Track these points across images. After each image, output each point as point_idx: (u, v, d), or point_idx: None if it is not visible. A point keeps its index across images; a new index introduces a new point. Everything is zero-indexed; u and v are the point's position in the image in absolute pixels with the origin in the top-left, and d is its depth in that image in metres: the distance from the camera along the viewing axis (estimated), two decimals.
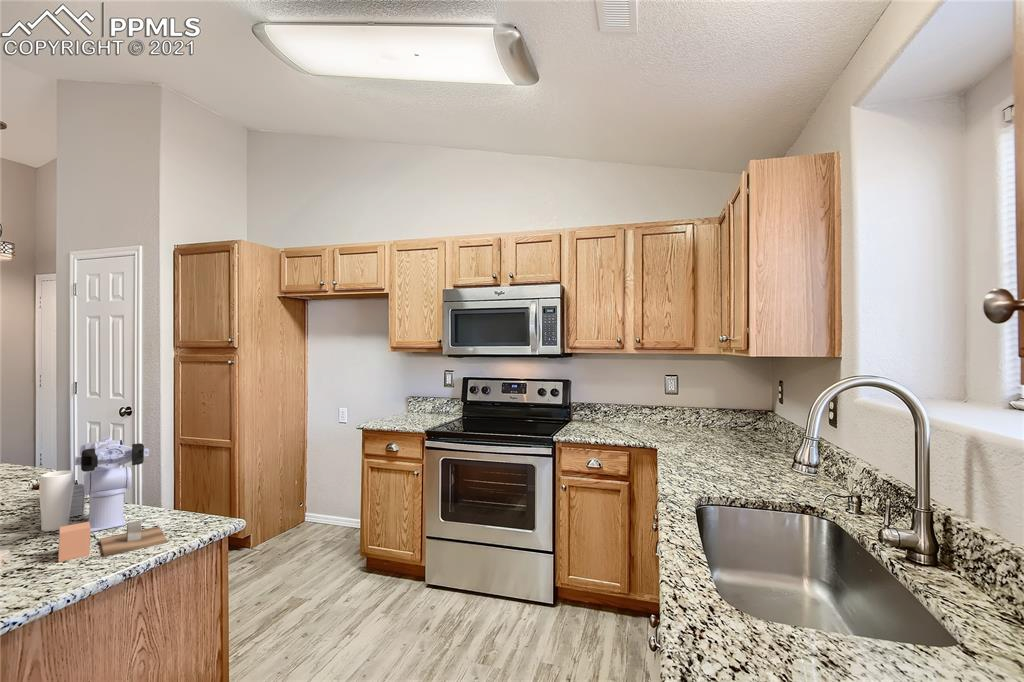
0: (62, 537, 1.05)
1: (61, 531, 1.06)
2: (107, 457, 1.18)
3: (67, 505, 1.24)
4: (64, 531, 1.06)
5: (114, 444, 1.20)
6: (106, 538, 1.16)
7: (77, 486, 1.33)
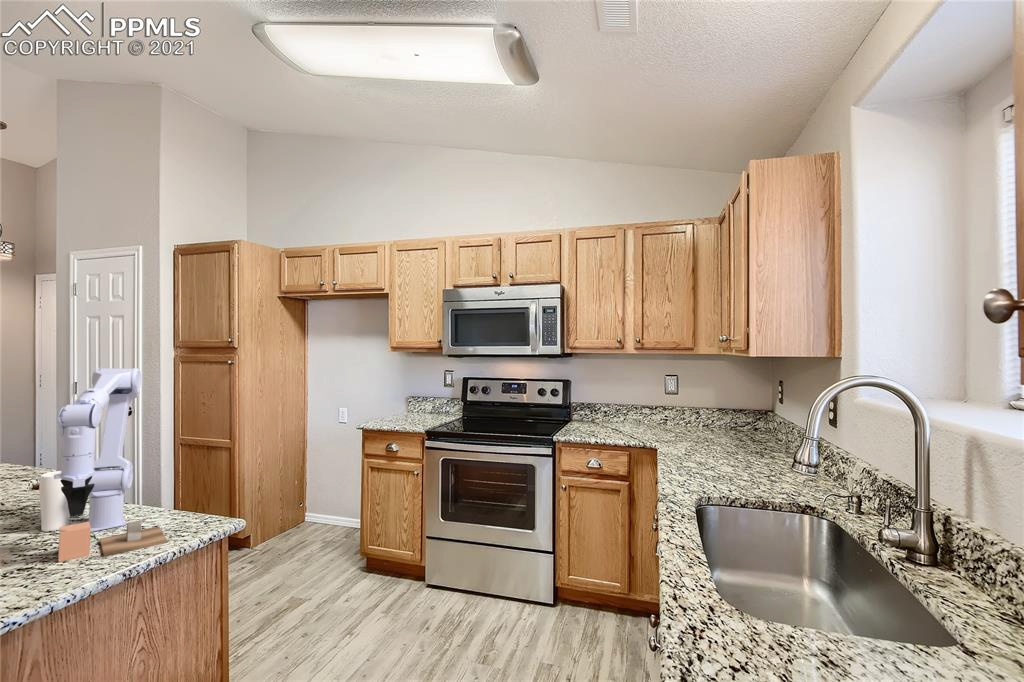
0: (62, 537, 1.05)
1: (61, 531, 1.06)
2: None
3: (67, 505, 1.24)
4: (64, 531, 1.06)
5: (59, 477, 1.06)
6: (106, 538, 1.16)
7: None
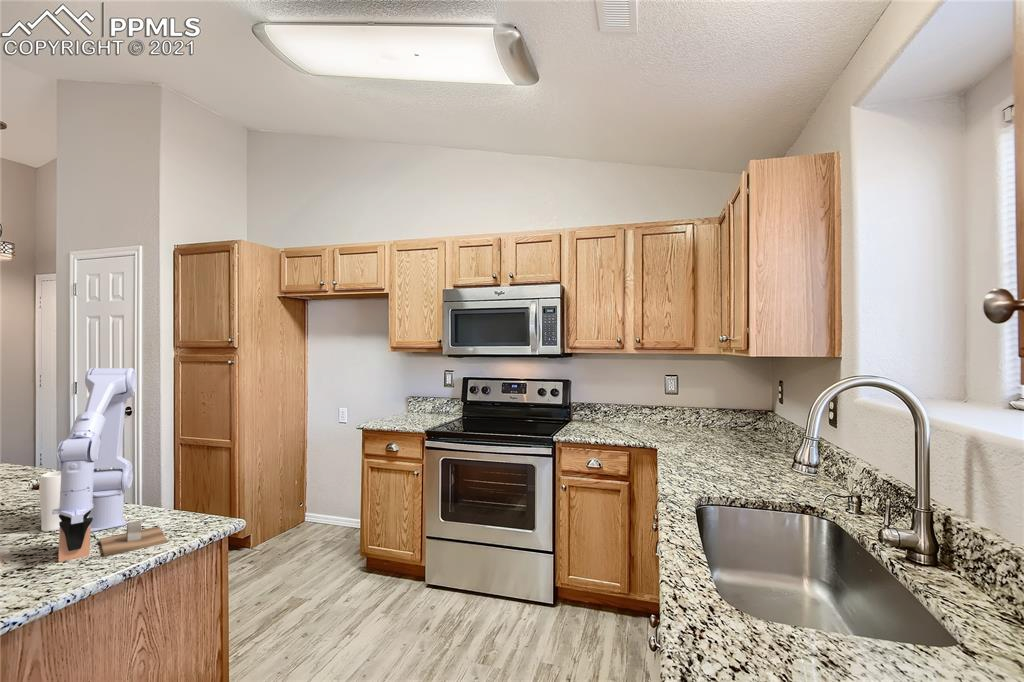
0: (62, 537, 1.05)
1: (61, 531, 1.06)
2: None
3: None
4: None
5: None
6: (106, 538, 1.16)
7: None
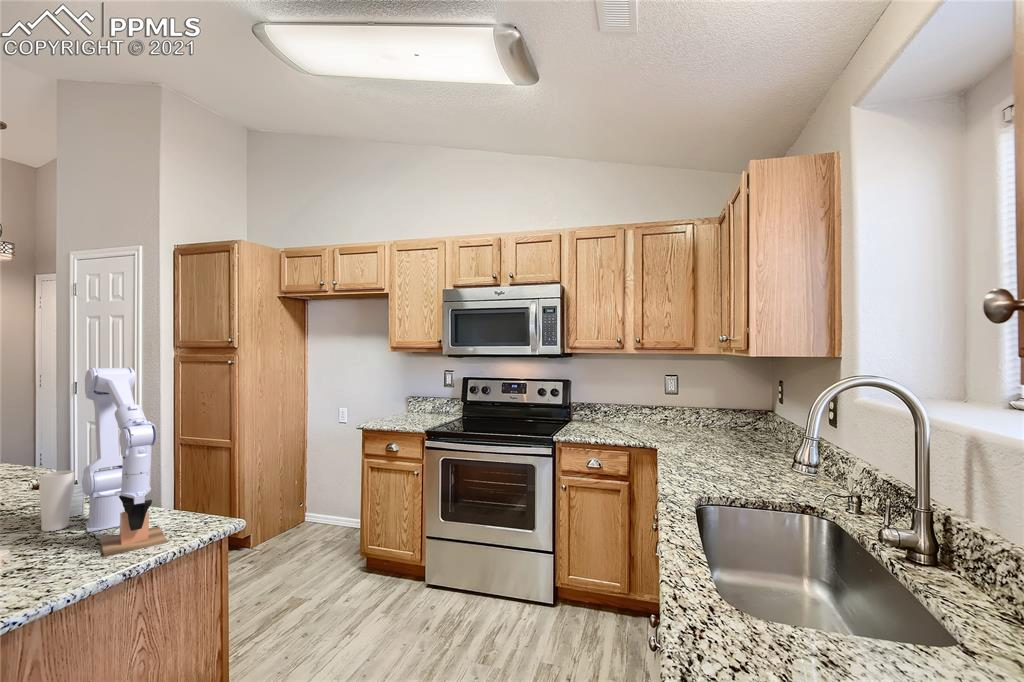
0: (124, 522, 1.13)
1: (123, 516, 1.14)
2: None
3: (67, 505, 1.24)
4: (126, 516, 1.14)
5: (120, 494, 1.14)
6: (106, 538, 1.16)
7: (77, 486, 1.33)
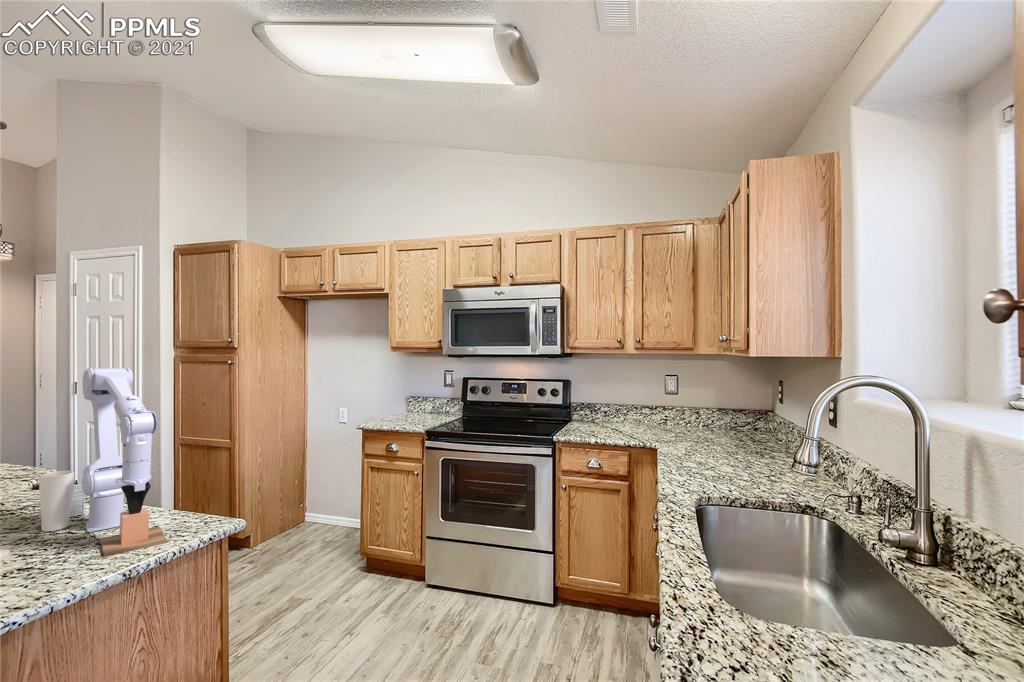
0: (124, 522, 1.13)
1: (123, 516, 1.14)
2: None
3: (67, 505, 1.24)
4: (126, 516, 1.14)
5: None
6: (106, 538, 1.16)
7: (77, 486, 1.33)
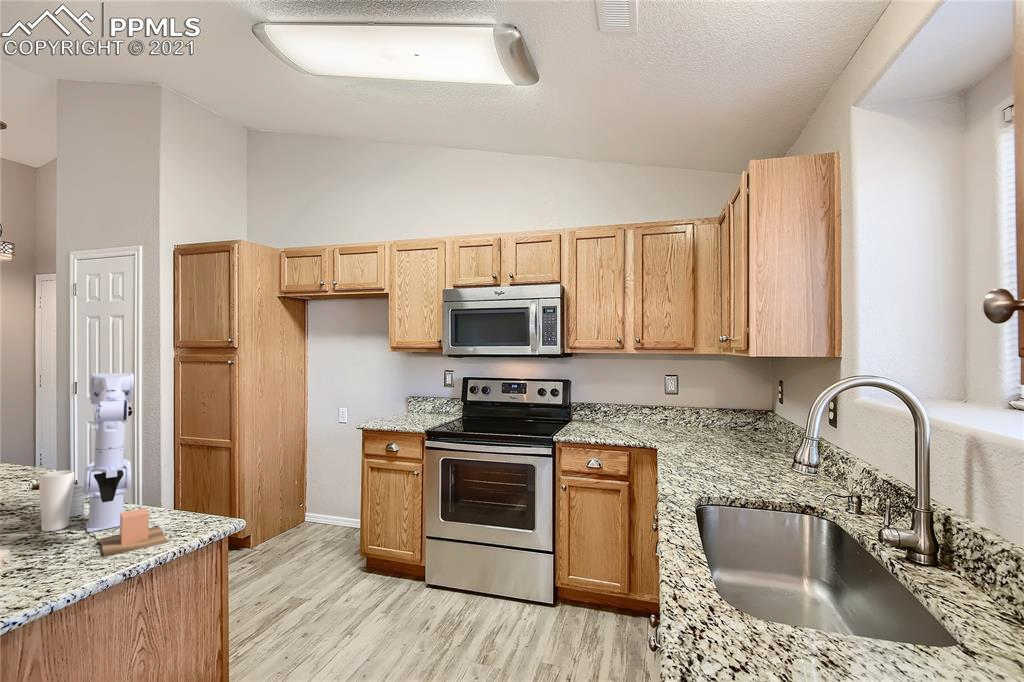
0: (124, 522, 1.13)
1: (123, 516, 1.14)
2: None
3: (67, 505, 1.24)
4: (126, 516, 1.14)
5: (92, 469, 1.14)
6: (106, 538, 1.16)
7: (77, 486, 1.33)
